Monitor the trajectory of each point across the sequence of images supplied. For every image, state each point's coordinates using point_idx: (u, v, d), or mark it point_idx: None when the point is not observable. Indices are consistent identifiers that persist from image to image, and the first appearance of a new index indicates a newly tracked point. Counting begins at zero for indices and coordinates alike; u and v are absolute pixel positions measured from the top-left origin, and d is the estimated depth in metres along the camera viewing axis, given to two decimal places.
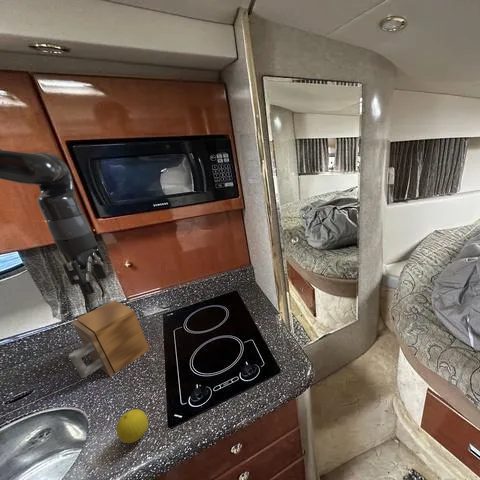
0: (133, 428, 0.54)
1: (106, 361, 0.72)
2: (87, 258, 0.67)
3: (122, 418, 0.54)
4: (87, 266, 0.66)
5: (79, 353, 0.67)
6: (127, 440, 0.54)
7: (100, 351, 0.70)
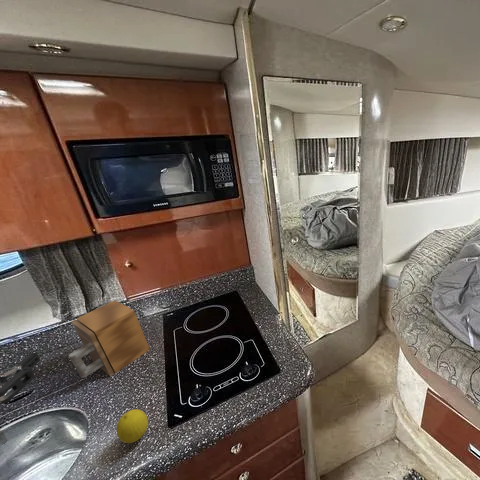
0: (133, 428, 0.54)
1: (106, 361, 0.72)
2: None
3: (122, 418, 0.54)
4: None
5: (79, 353, 0.67)
6: (127, 440, 0.54)
7: (100, 351, 0.70)
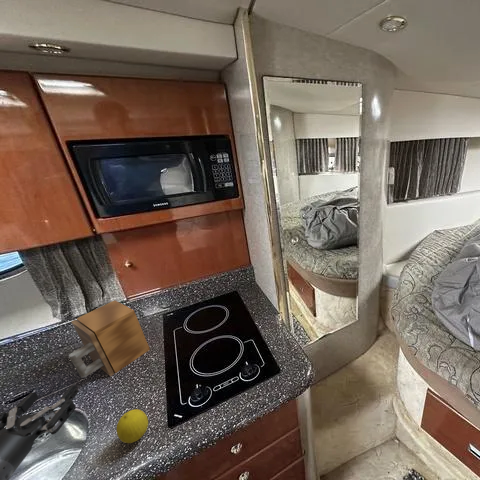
0: (133, 428, 0.54)
1: (106, 361, 0.72)
2: None
3: (122, 418, 0.54)
4: None
5: (79, 353, 0.67)
6: (127, 440, 0.54)
7: (100, 351, 0.70)
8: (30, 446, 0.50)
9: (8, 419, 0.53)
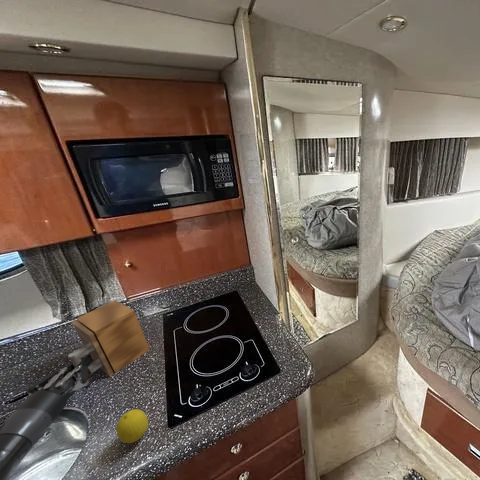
0: (133, 428, 0.54)
1: (106, 361, 0.71)
2: None
3: (122, 418, 0.54)
4: None
5: (79, 353, 0.67)
6: (127, 440, 0.54)
7: (99, 351, 0.70)
8: (64, 403, 0.58)
9: (53, 378, 0.62)
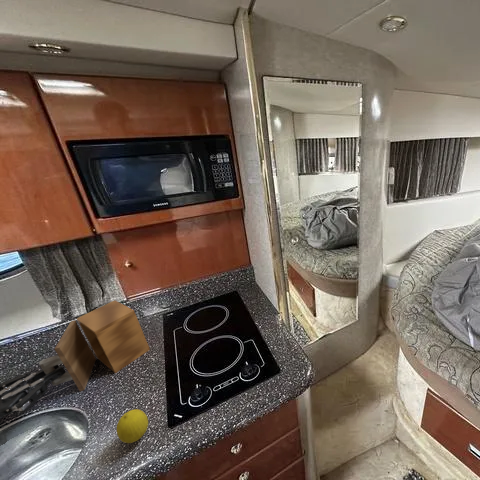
0: (133, 428, 0.54)
1: (75, 376, 0.67)
2: None
3: (122, 418, 0.54)
4: None
5: (47, 363, 0.64)
6: (127, 440, 0.54)
7: (67, 366, 0.66)
8: None
9: (14, 383, 0.62)
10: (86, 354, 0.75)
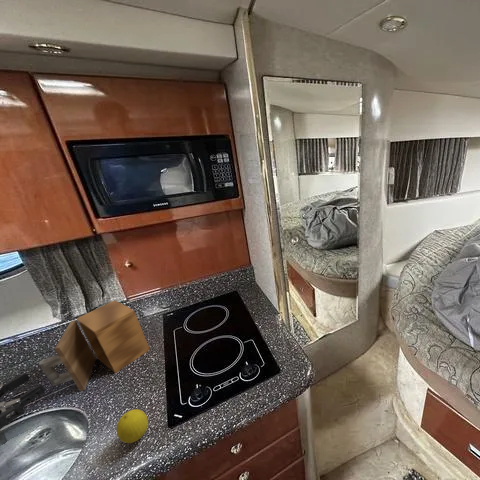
0: (133, 428, 0.54)
1: (75, 376, 0.67)
2: None
3: (122, 418, 0.54)
4: None
5: (47, 363, 0.64)
6: (127, 440, 0.54)
7: (67, 366, 0.66)
8: None
9: None
10: (86, 354, 0.75)
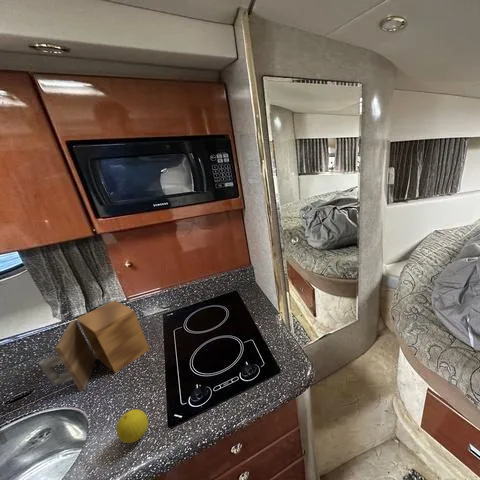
0: (133, 428, 0.54)
1: (75, 376, 0.67)
2: None
3: (122, 418, 0.54)
4: None
5: (47, 363, 0.64)
6: (127, 440, 0.54)
7: (67, 366, 0.66)
8: None
9: None
10: (86, 354, 0.75)
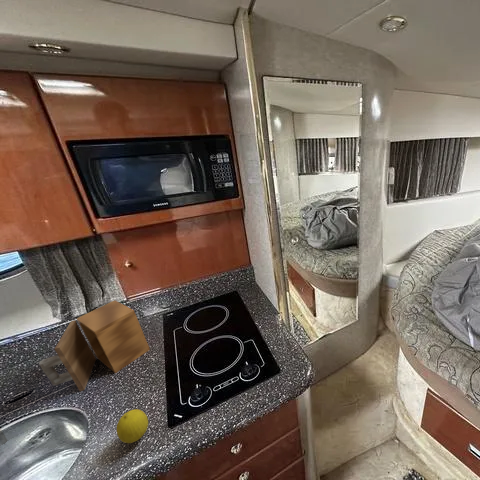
0: (133, 428, 0.54)
1: (75, 376, 0.67)
2: None
3: (122, 418, 0.54)
4: None
5: (47, 363, 0.64)
6: (127, 440, 0.54)
7: (67, 366, 0.66)
8: None
9: None
10: (86, 354, 0.75)
